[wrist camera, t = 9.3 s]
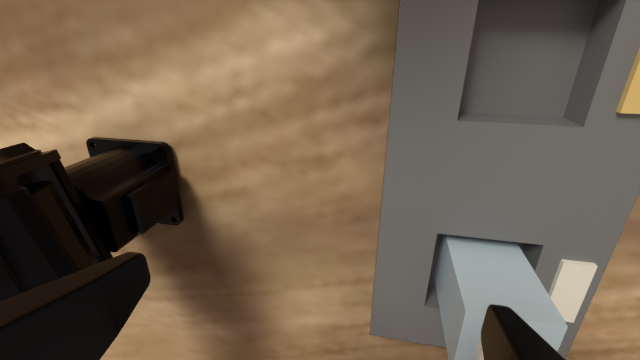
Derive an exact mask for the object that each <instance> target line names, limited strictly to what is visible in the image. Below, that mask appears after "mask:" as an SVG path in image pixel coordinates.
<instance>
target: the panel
mask: <svg viewBox="0 0 640 360" xmlns="http://www.w3.org/2000/svg"><path fill="white" fill-rule="evenodd" d="M639 192H640V0H400V6H399V17H398V27H397V38H396V49H395V60H394V71H393V82H392V93H391V104H390V115H389V126H388V136H387V147H386V158H385V169H384V180H383V191H382V202H381V213H380V224H379V235H378V245H377V256H376V267H375V278H374V289H373V300H372V311H371V324H370V335H374V336H380V337H386V338H392V339H397V340H403V341H409V342H415V343H421V344H427V345H432V346H438V347H444V348H446V343H445V337H444V331H443V326H442V320H441V314H440V308H439V303H438V297H437V291H436V285H435V280H434V277H435V271H436V266H437V260H438V255H439V249H440V244H441V238H442V234H447V235H456V236H465V237H474V238H483V239H492V240H501V241H510V242H517V244H518V245H519V247H520V249H521V250H522V252H523V253H524V255H525V257H526V258H527V260H528V262H529V263H530V265H531V267H532V268H533V270H534V272H535V273H536V275H537V276H538V278H539V280H540V281H541V283H542V285H543V286H544V288H545V290H546V291H547V293H548V294H549V296H550V298H551V299H552V301H553V303H554V304H555V306H556V308H557V309H558V311H559V313H560V314H561V316H562V317H563V319H564V321H565V322H566V324H567V326H568V328H567V330H566V333H565V335H564V337H563V340H562V342H561V345H560V347H559V349H558V353H559V354H560V355H561V356H562V357H563V358H564V359H566V357H567V354H568V352H569V350H570V348H571V345H572V343H573V341H574V339H575V336H576V334H577V332H578V330H579V327H580V325H581V323H582V321H583V318H584V316H585V314H586V312H587V309H588V307H589V305H590V303H591V300H592V298H593V296H594V294H595V291H596V289H597V287H598V285H599V282H600V280H601V278H602V275H603V273H604V271H605V269H606V266H607V264H608V262H609V260H610V257H611V255H612V253H613V251H614V248H615V246H616V244H617V242H618V239H619V237H620V235H621V233H622V230H623V228H624V226H625V224H626V221H627V219H628V217H629V215H630V212H631V210H632V208H633V206H634V203H635V201H636V199H637V197H638V194H639Z"/></svg>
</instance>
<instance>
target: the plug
mask: <svg viewBox="0 0 640 360" xmlns="http://www.w3.org/2000/svg"><path fill="white" fill-rule="evenodd" d="M434 280H435V285H436V291H437V297H438V303H439V308H440V314H441V320H442V326H443V331H444V337H445V343H446V349H447V354H448V360H484V357H483V350H482V344H481V328H482V325H483V321H484V318H485V314H486V311H487V308H488V306H489V305H491V304H495V305H502V306H507V307H510V308H511V309H512V310H513V311H514V312H516V313H517V314H518V315H519V316H520V317H521V318H522V319H523V320H524V321H525V322H526V323H527V324H528V325H529V326H530V327H531V328H533V329H534V330H535V331H536V332H537V333H538V334H539V335H540V336H541V337H542V338H543V339H544V340H545V341H546V342H547V343H548V344H550V345H551V346H552V347H553V348H554V349H555V350H556V351H557V352H558V349H559V347H560V345H561V342H562V340H563V337H564V335H565V333H566V330H567V328H568V326H567V324H566V322H565V321H564V319H563V317H562V316H561V314H560V313H559V311H558V309H557V308H556V306H555V304H554V303H553V301H552V299H551V298H550V296H549V294H548V293H547V291H546V290H545V288H544V286H543V285H542V283H541V281H540V280H539V278H538V276H537V275H536V273H535V272H534V270H533V268H532V267H531V265H530V263H529V262H528V260H527V258H526V257H525V255H524V253H523V252H522V250H521V249H520V247H519V245H518V244H517V242H510V241H501V240H492V239H483V238H474V237H465V236H456V235H447V234H442V238H441V244H440V249H439V255H438V260H437V266H436V271H435V277H434Z"/></svg>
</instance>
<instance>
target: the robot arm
mask: <svg viewBox="0 0 640 360" xmlns="http://www.w3.org/2000/svg"><path fill="white" fill-rule="evenodd" d="M86 144H87V148H88V151H89V155H90V158H87V159H85V160H82V161H79V162H77V163H74V164H72V165H69V166H67V167H63V165H62V163H61V161H60V159H61V157H60V155H59V153H58V151H57V150H56V149H55V150H51V151H46V152H41V150H35V149H33V148H32V147H30V146H29V145H27V144H25V143H20V144H16V145H13V146H9V147H6V148H2V149H0V360H100V359H101V357H102V356H103V355H104V353H105V352H106V350H107V349H108V348H109V346H110V345H111V344H112V342H113V341H114V340H115V338H116V337H117V335H118V334H119V332H120V331H121V329H122V328H123V326H124V324H125V323H126V321H127V320H128V318H129V316H130V315H131V313H132V312H133V310H134V308H135V307H136V305H137V304H138V302H139V300H140V299H141V297H142V295H143V294H144V292H145V291H146V289H147V287H148V286H149V283H150V273H149V269H148V265H147V261H146V258H145V256H144V255H143V254H141V253H135V252H127V253H124V254H122V255H119V256H116V257H114V258H113V256H112V255H111V253H110V252H117V251H118V250H120V249H121V248H122V247H124V246H125V245H126V244H127V243H129V242H130V241H131V240H133V239H134V238H135V237H137V236H138V235H139V234H144V233H145V232H147V231H148V230H149V229H150V228H152V227H153V226H154V225H155V224H157V223H160V224H168V225H179V224H180V223H181V222H182V221H183V214H182V208H181V202H180V197H179V192H178V186H177V181H176V176H175V171H174V166H173V160H172V155H171V150H170V147H169V145H168V144H166V143H165V142H156V141H142V140H128V139H114V138H100V137H93V138H90V139H88V140H87V142H86ZM95 145H96V146H95ZM161 148H162V149H163V150H164V152H163V151H162V150H161ZM175 218H177V220H176V219H175ZM481 344H482V350H483V357H484V360H565V359H564V358H563V357H562V356H561V355H560V354H559V353H558V352H557V351H556V350H555V349H554V348H553V347H552V346H551V345H550V344H548V343H547V342H546V341H545V340H544V339H543V338H542V337H541V336H540V335H539V334H538V333H537V332H536V331H535V330H534V329H533V328H531V327H530V326H529V325H528V324H527V323H526V322H525V321H524V320H523V319H522V318H521V317H520V316H519V315H518V314H517V313H516V312H514V311H513V310H512V309H511V308H510V307H507V306H502V305H495V304H491V305H489V306H488V308H487V311H486V314H485V318H484V321H483V325H482V328H481Z"/></svg>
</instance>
